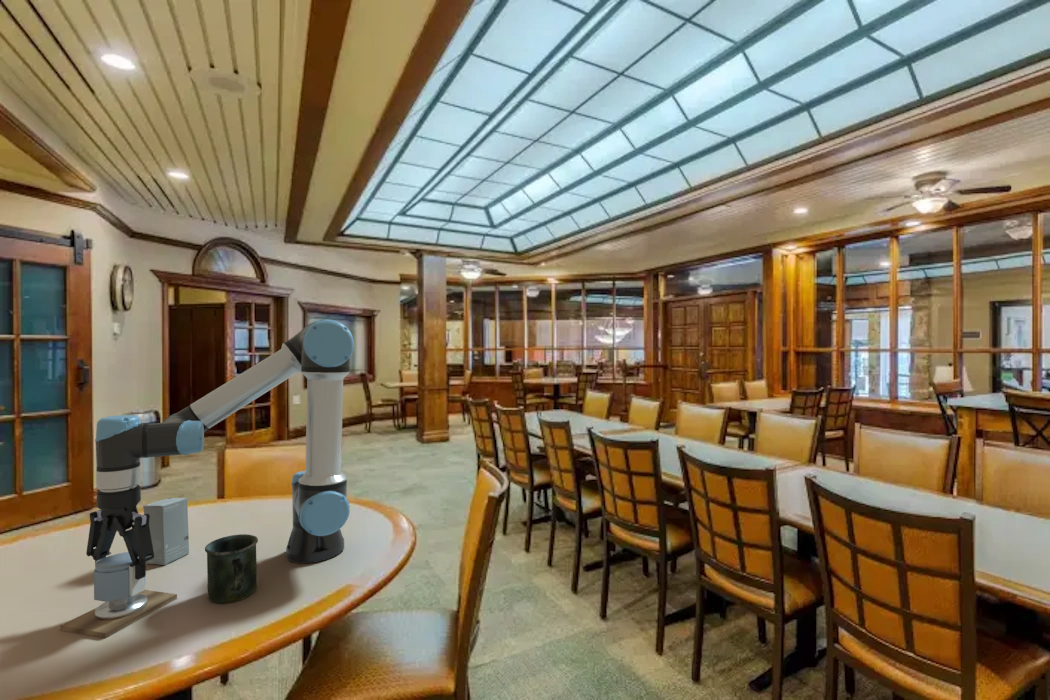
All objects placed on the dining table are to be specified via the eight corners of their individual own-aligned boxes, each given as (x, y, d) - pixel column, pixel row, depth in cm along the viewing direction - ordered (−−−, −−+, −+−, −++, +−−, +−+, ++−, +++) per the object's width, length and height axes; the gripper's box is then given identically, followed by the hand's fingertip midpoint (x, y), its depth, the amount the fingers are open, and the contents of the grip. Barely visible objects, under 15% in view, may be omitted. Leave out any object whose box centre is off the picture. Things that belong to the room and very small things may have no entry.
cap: (154, 584, 115) (153, 553, 115) (116, 603, 107) (115, 570, 107) (124, 580, 117) (124, 550, 117) (85, 598, 109) (84, 565, 109)
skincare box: (164, 566, 135) (163, 506, 135) (142, 564, 137) (140, 505, 136) (191, 553, 144) (190, 497, 143) (170, 551, 145) (168, 495, 145)
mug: (253, 577, 129) (252, 530, 128) (267, 601, 117) (266, 549, 117) (202, 591, 122) (201, 541, 121) (211, 617, 110) (210, 562, 110)
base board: (177, 598, 118) (176, 594, 118) (105, 638, 103) (105, 633, 103) (135, 592, 121) (135, 588, 121) (60, 630, 106) (60, 625, 106)
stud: (157, 601, 115) (157, 572, 115) (117, 622, 107) (116, 591, 106) (126, 596, 117) (125, 568, 117) (84, 617, 109) (83, 587, 109)
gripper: (174, 485, 113) (175, 587, 113) (99, 479, 118) (100, 577, 118) (141, 495, 105) (142, 605, 106) (62, 488, 110) (64, 592, 111)
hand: (120, 590), depth 112 cm, fingers closed on cap, 8 cm apart
